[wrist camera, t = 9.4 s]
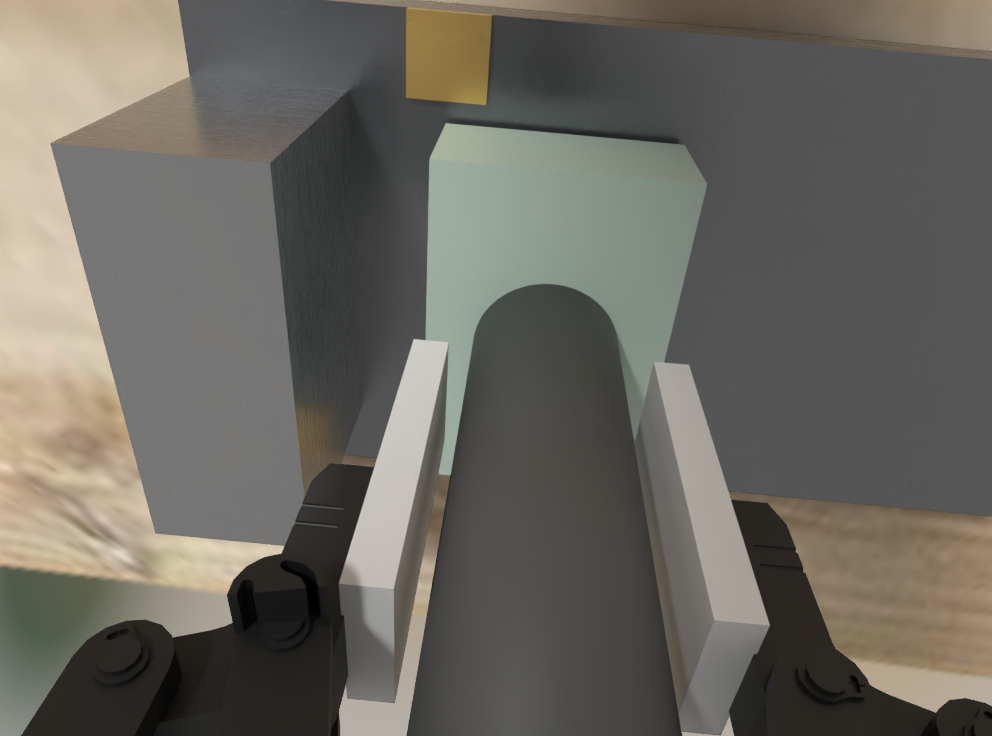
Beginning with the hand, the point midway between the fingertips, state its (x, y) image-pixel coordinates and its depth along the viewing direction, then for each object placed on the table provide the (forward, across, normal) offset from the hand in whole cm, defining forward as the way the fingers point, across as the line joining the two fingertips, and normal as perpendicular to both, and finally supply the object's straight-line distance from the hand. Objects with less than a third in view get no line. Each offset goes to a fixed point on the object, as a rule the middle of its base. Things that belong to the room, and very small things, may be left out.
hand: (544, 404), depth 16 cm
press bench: (+7, +4, 0) cm, 8 cm away
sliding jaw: (+5, 0, 0) cm, 5 cm away
